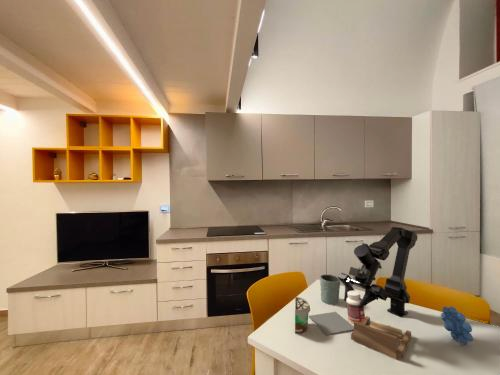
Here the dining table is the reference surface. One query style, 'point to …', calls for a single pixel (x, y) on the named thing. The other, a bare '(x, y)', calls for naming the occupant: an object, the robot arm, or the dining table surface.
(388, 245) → the robot arm
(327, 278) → the grey-green rounded cylinder
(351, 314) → the pill bottle
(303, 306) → the food container
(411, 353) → the dining table surface
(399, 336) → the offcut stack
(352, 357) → the dining table surface
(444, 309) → the grapes
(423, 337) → the dining table surface
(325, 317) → the slate mat
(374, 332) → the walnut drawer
